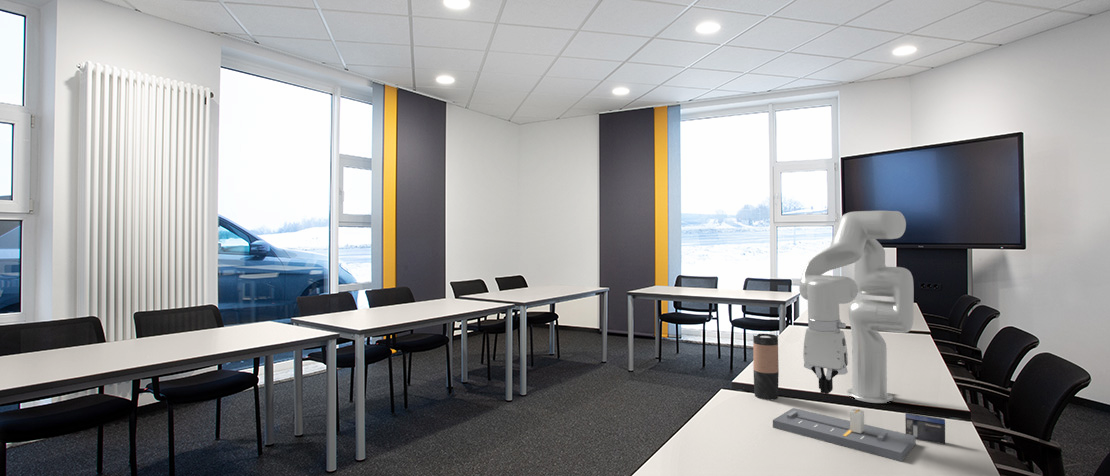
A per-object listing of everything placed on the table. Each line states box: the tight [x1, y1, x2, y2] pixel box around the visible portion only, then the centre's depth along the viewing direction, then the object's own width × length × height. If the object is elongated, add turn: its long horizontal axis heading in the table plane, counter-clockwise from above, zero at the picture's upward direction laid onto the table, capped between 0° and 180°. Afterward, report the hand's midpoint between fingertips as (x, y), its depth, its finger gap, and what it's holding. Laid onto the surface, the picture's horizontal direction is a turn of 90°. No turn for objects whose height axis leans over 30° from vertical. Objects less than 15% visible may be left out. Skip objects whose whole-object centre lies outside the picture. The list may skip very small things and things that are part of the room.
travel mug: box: [752, 333, 780, 401], centre depth 167 cm, size 8×8×20 cm
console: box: [772, 407, 917, 462], centre depth 134 cm, size 14×30×3 cm, turn 43°
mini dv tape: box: [904, 412, 946, 445], centre depth 130 cm, size 8×2×6 cm, turn 55°
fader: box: [849, 408, 865, 433], centre depth 131 cm, size 3×2×5 cm
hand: (825, 392), depth 138 cm, fingers closed
